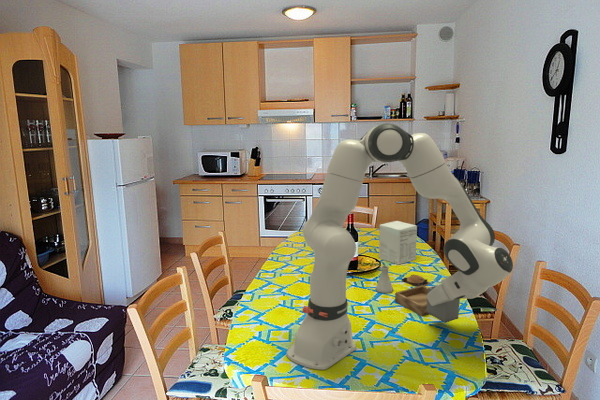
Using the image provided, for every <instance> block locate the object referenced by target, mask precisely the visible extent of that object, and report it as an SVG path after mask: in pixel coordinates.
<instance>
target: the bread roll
mask: <svg viewBox="0 0 600 400" xmlns="http://www.w3.org/2000/svg"><path fill="white" fill-rule="evenodd" d="M401 282H402V283H405V284H407V285H411V286H413V287H418V286H421V285H423V286H425V287H427V286H429V285H431V283H432V282H430V281H428V279H425V278H424V277H423V276H420V275H418V274H411V275H410V276H408V277H403V278H402V279H401Z"/></svg>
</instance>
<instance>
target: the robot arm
mask: <svg viewBox="0 0 600 400" xmlns="http://www.w3.org/2000/svg"><path fill="white" fill-rule="evenodd" d="M397 161H398V162H399V163H400V164H402V166H403V167H404V168H405V171H406V173H407V175H408V177H409V180H410V182H411V184H412V186H413V188H414V190H415V191H416V193H418V195H420V196H422V197H423V198H426V199H431V200H432V199H433V200H436V199H437V200H439V199H441V200H444V201H446V202H447V203H448V204H449V206H450V208H451V209H452V211H453V212H454V214H455V216H456V218H457V219H458V221H459V229H458V230H457V231H456V232H455V233H453V234H452V235H451V236H450V237H449V239H447V240H446V242H445V243H444V244H443V254H444V257H445V258H446V260H447V261H448V262H449V263H450V264H451V266H453V267H454V268H456V270H458V271H457V272H455V273H453V274H451V275H450V276H447V277H445V278H443V279H442V280H441V281H440V283H439V284H437V285H438V286H436V285H435V286H436V287H435V288H434V289H433V290H431V291H430V292H429V293H428V294H427V299H428V301H429V303H430V304H431V306H435V305H438V304H441V303H445V302H448V301H452V300H456V299H460V300H461V299H462V300H463V299H466V300H467V299H469V300H472V299H475V298H477V297H478V296H479V295H482V294H483V293H485V292H486V291H487V290H488V289H489V288H492V287H494V286H496V285H497V284H499V283H501V282H502V281H503V280H505V279H506V278H508V276H510V274H511V273H512V272H513V268H514V262H513V259H512V257H511V255H510V253H509V252H508V251H507V250H506V249H505V248H503V247H499V246H498V247H497V246H496V247H495V246H493V245H494V243H495V239H496V234H495V231H494V229H493V227H492V226H491V224H489V223H488V221H486V220H485V218H484V217H483V216H482V215H481V213H480V212H479V210H478V209H477V207H476V205H475V204H474V202H473V201H472V198H471V197H470V195H469V194H468V191H467V190H466V189H465V187H464V185H463V184H462V182H461V181H460V180H459V179H458V178H457V177H455V175H454V174H453V173H452V171H451V170H450V168H449V166H448V164H447V162H446V160H445V158H444V155H443V154H442V152H441V151H440V149H439V147H438V145H437V144H436V142H435V141H434V140H433V138H432V137H431V135H429V134H427V133H424V132H418V133H417V132H415V133H413V134H410V133H409V132H407V131H406V130H404V129H403V128H402V127H400V126H399V125H397V124H394V123H390V122H387V123H386V122H385V123H382V124H381V123H379V124H377V125H375V126H373V127H372V128H370V129H369V130H368V131H367V132H366V133H365V134H364V135H363V136H362V137H361V138H360V139H359V140H357V139H351V138H350V139H348V138H347V139H344V140H342V141H340V142H338V144H337V146H336V147H335V149H334V152H333V154H332V156H331V158H330V161H329V164H328V166H327V169H326V170H327V171H326V173H325V174H326V175H325V178H324V182H323V184H322V188H321V192H320V195H319V198H318V201H317V203H316V205H315V206H314V209H313V210H312V213H311V215H310V217H309V218H308V219H307V220H306V222H304V225H303V228H302V235H303V239H304V241H305V243H306V245H307V246H308V247H309V248H310V249H311V250H312V251H313V255H314V263H313V268H312V271H311V273H310V275H309V296H310V297H309V300H308V303H307V306H306V305H304V306H303V307H302V313H304V314H306V315H305V317H304V318H303V320H302V322H301V324H300V325H299V327H298V329H297V332H296V333H295V335H294V342H293V343H292V344H291V346H290V347H289V348H288V349H287V351H286V357H287V358H288V359H289V360H290V361H292V362H293V363H295V364H297V365H300V366H301V367H305V368H307V369H308V368H309V369H312V370H324V371H325V370H327V369H328V368H330V367H332V366H334V364H336V363H338V362H340V361H341V360H342V359H344V358H345V357H347V356H348V355H350V354H352V353H353V352H354V351H356V349H357V345H356V344H355V342H354V341H353V332H352V322H351V320H350V318H349V316H348V313H347V312H348V308H349V307H348V306H349V303H348V302H349V301H348V298H347V275H348V270H349V265H350V262H351V261H352V260H353V259H354V257H355V255H356V251H357V245H356V242H355V239H354V238H353V235H352V234H351V233H350V232H349V230H347V229H346V228H344V224H345V222H346V220H347V219H348V216H349V215H350V213H352V211H354V209H355V208H357V207H356V206H357V204H358V200H359V197H360V194H361V189H362V187H363V183H364V181H365V176H366V172H367V170H368V168H369V166H370V165H371V164H372V163H373V162H377V163H380V164H381V163H382V164H384V163H392V162H393V163H394V162H397Z"/></svg>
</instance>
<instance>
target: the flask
mask: <svg viewBox="0 0 600 400" xmlns="http://www.w3.org/2000/svg"><path fill="white" fill-rule="evenodd" d="M380 268H381V271H380V277H379V279H378V282H377V283H376V286H375V290H376V292H377V293H383V294H391V293H393V291H394V287H393V285H392V282H391V279H390V274H389V269H390V267H389V266H388V265H381V266H380Z"/></svg>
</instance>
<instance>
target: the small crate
mask: <svg viewBox="0 0 600 400" xmlns="http://www.w3.org/2000/svg"><path fill="white" fill-rule="evenodd" d="M438 285H439V284H436V285H433V286H429V287H427V288H428V293H429V292H430V291H431V290H433V289H434V288H435V287H436V286H438ZM460 300H461V299H456V300H452V301H448V302H445V303H441V304H438V305H435V306H431V304H430V303H429V301H428V299H427V313H428V314H427V315H430V316H432V317H434V319H437V320H439V321H441V322H443V323H445V324H446V323H449V322H452V321H455V320H458V319H459V314H460V313H459V312H460V311H459V310H460Z"/></svg>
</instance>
